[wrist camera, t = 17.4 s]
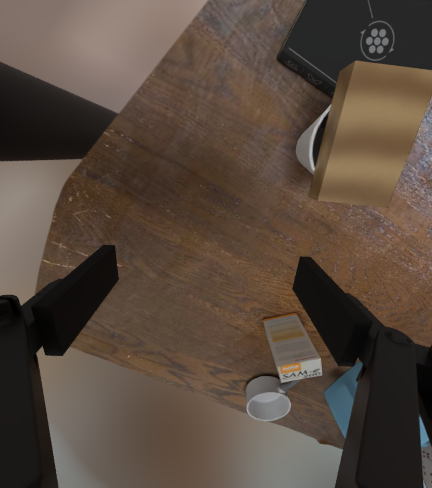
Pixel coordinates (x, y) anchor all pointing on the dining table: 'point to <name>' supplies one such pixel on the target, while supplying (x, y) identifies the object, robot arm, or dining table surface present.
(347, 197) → the brown wooden block
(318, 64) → the book
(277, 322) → the supplement box
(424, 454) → the vase
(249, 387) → the saucepan
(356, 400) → the robot arm
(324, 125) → the cup
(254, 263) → the dining table surface
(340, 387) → the container
